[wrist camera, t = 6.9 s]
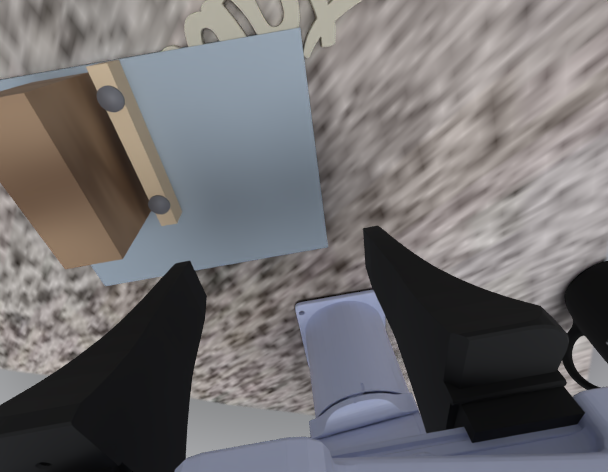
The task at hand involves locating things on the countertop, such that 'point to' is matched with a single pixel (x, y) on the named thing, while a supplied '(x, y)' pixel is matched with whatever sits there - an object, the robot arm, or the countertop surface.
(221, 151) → the blue flat mat
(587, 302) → the mug
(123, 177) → the brown square box
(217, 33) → the decorative sign
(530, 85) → the countertop surface
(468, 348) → the robot arm
